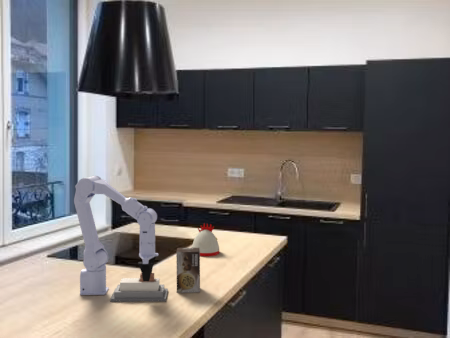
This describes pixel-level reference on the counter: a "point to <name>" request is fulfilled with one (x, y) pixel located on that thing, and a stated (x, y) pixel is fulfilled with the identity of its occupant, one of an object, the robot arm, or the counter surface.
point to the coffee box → (188, 270)
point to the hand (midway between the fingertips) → (147, 278)
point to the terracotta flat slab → (150, 278)
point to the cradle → (139, 295)
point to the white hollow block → (138, 285)
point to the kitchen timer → (206, 242)
